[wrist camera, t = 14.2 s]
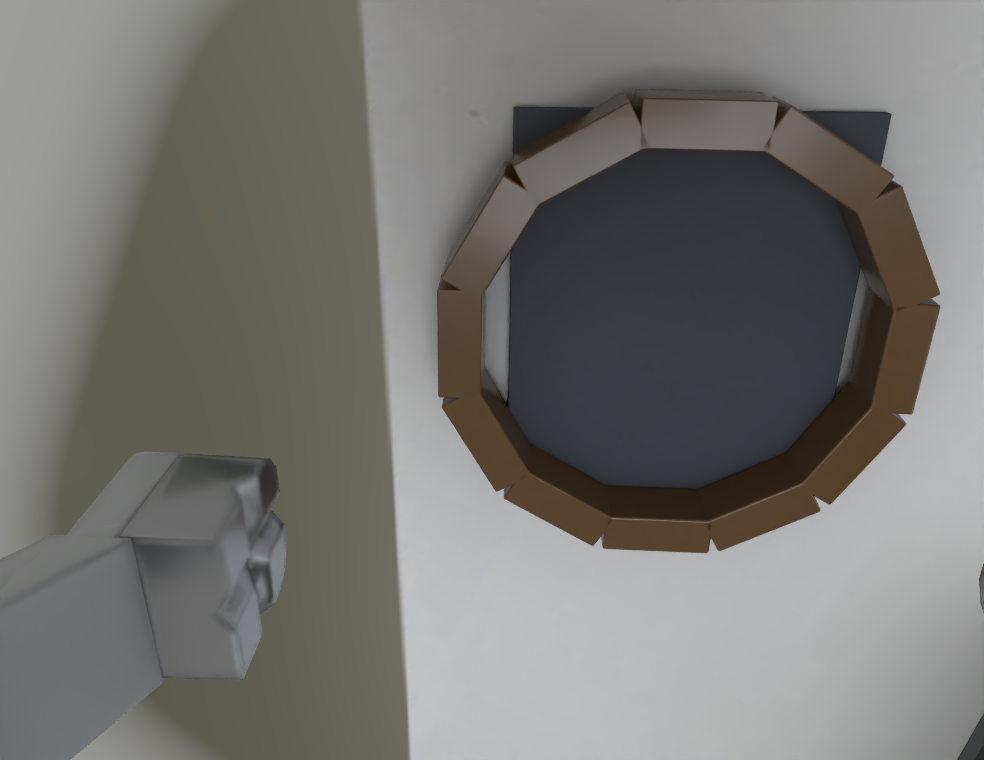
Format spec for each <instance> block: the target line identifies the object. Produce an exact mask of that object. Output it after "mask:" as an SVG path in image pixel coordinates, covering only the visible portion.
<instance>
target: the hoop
mask: <svg viewBox="0 0 984 760" xmlns="http://www.w3.org/2000/svg"><path fill="white" fill-rule="evenodd" d="M644 149H667V150H706V151H745V152H765V153H766V154H768V155H769V156H771V157H772V158H774V159H775V160H777V161H778V162H780V163H781V164H783V165H784V166H786V167H787V168H789V169H790V170H792V171H793V172H795V173H796V174H798V175H799V176H801V177H802V178H804V179H805V180H807V181H808V182H810V183H811V184H813V185H814V186H816V187H817V188H819V189H820V190H822V191H823V192H825V193H826V194H828V195H829V196H831V197H832V198H834V199H835V200H836V203H837V205H838V208H839V210H840V213H841V215H842V218H843V221H844V223H845V226H846V228H847V231H848V233H849V236H850V238H851V241H852V244H853V246H854V249H855V251H856V254H857V256H858V259H859V262H860V264H861V267H862V269H863V272H864V274H865V277H866V280H867V282H868V285H869V287H870V290H869V295H868V299H867V304H866V308H865V313H864V317H863V322H862V327H861V331H860V336H859V340H858V345H857V349H856V354H855V358H854V363H853V367H852V372H851V377H850V381H849V382H848V383H847V384H846V386H845V387H844V388H843V389H842V390H841V391H840V392H839V394H838V395H837V396H836V397H835V398H834V399H833V400H832V401H831V403H830V404H829V405H828V406H827V407H826V408H825V409H824V410H823V412H822V413H821V414H820V415H819V416H818V417H817V418H816V419H815V421H814V422H813V423H812V424H811V425H810V426H809V427H808V428H807V430H806V431H805V432H804V433H803V434H802V435H801V436H800V437H799V439H798V440H797V441H796V442H795V443H794V444H793V445H792V446H791V448H790V449H789V450H788V451H787V452H786V453H784V454H782V455H779V456H777V457H775V458H772V459H770V460H767V461H765V462H763V463H760V464H758V465H755V466H753V467H751V468H748V469H746V470H743V471H741V472H739V473H736V474H734V475H731V476H729V477H727V478H724V479H722V480H719V481H717V482H715V483H712V484H710V485H707V486H705V487H703V488H700V489H675V488H650V487H625V486H606V485H604V484H603V483H601V482H599V481H597V480H595V479H594V478H592V477H590V476H588V475H586V474H585V473H583V472H581V471H579V470H577V469H576V468H574V467H572V466H570V465H568V464H566V463H565V462H563V461H561V460H559V459H557V458H556V457H554V456H552V455H550V454H548V453H547V452H545V451H543V450H541V449H539V448H538V447H536V446H534V445H532V444H530V443H529V441H528V440H527V438H526V436H525V435H524V433H523V431H522V430H521V428H520V426H519V425H518V423H517V422H516V420H515V418H514V417H513V415H512V413H511V412H510V410H509V408H508V407H507V405H506V403H505V402H504V400H503V398H502V397H501V395H500V393H499V392H498V390H497V388H496V387H495V385H494V384H493V382H492V380H491V379H490V377H489V375H488V374H487V372H486V370H485V369H484V349H485V291H486V289H487V288H488V286H489V284H490V283H491V281H492V280H493V278H494V276H495V275H496V273H497V272H498V270H499V269H500V267H501V265H502V264H503V262H504V261H505V259H506V258H507V256H508V254H509V253H510V251H511V250H512V248H513V247H514V245H515V243H516V242H517V240H518V239H519V237H520V235H521V234H522V232H523V231H524V229H525V228H526V226H527V224H528V223H529V221H530V220H531V218H532V217H533V215H534V213H535V212H536V210H537V209H538V207H539V206H540V204H542V203H544V202H546V201H548V200H550V199H552V198H553V197H555V196H557V195H559V194H561V193H563V192H565V191H567V190H568V189H570V188H572V187H574V186H576V185H578V184H580V183H582V182H584V181H585V180H587V179H589V178H591V177H593V176H595V175H597V174H599V173H600V172H602V171H604V170H606V169H608V168H610V167H612V166H614V165H615V164H617V163H619V162H621V161H623V160H625V159H627V158H629V157H631V156H632V155H634V154H636V153H638V152H640V151H642V150H644ZM893 177H894V175H893V174H892V173H890V172H889V171H887V170H886V169H884V168H883V167H881V166H880V165H878V164H877V163H875V162H874V161H873V160H871V159H870V158H868V157H867V156H865V155H864V154H862V153H861V152H859V151H858V150H856V149H855V148H854V147H852V146H851V145H849V144H848V143H846V142H845V141H843V140H842V139H840V138H839V137H838V136H836V135H835V134H833V133H832V132H830V131H829V130H827V129H826V128H824V127H823V126H821V125H820V124H819V123H817V122H816V121H814V120H813V119H811V118H810V117H808V116H807V115H805V114H804V113H803V112H801V111H800V110H798V109H797V108H795V107H794V106H792V105H790V104H788V103H786V102H784V101H782V100H780V99H778V98H776V97H769V96H767V95H765V94H763V93H761V92H733V91H690V90H647V89H636V90H635V96H634V108H633V106H632V104H631V102H630V100H629V99H628V98H627V97H626V95H625V94H624V93H621V94H619V95H617V96H616V97H614V98H612V99H610V100H608V101H607V102H605V103H603V104H601V105H599V106H598V107H596V108H594V109H592V110H590V111H589V112H587V113H585V114H583V115H581V116H580V117H578V118H576V119H574V120H572V121H571V122H569V123H567V124H565V125H563V126H561V127H560V128H558V129H556V130H554V131H552V132H551V133H549V134H547V135H545V136H543V137H542V138H540V139H538V140H536V141H534V142H533V143H531V144H529V145H527V146H525V147H524V148H522V149H520V150H518V151H516V152H515V153H514V159H513V165H511V164H510V163H508V162H505V163H504V164H503V166H502V167H501V169H500V171H499V172H498V174H497V176H496V177H495V179H494V181H493V182H492V184H491V186H490V187H489V189H488V191H487V192H486V194H485V196H484V197H483V199H482V201H481V202H480V204H479V206H478V207H477V209H476V211H475V212H474V214H473V216H472V217H471V219H470V221H469V222H468V224H467V226H466V227H465V229H464V231H463V232H462V234H461V236H460V237H459V239H458V241H457V242H456V244H455V246H454V247H453V249H452V251H451V252H450V254H449V256H448V257H447V260H446V263H445V266H444V269H443V272H442V275H441V280H440V283H439V287H438V290H437V315H438V396H439V397H444V399H443V404H442V408H443V410H444V411H445V413H446V415H447V416H448V418H449V419H450V421H451V422H452V424H453V425H454V427H455V429H456V430H457V432H458V433H459V435H460V436H461V438H462V439H463V441H464V443H465V444H466V446H467V447H468V449H469V450H470V452H471V454H472V455H473V457H474V458H475V460H476V461H477V463H478V464H479V466H480V468H481V469H482V471H483V472H484V474H485V475H486V477H487V478H488V480H489V482H490V483H491V485H492V486H493V488H494V489H495V491H496V492H497V491H499V490H501V489H504V499H506V500H508V501H509V502H511V503H513V504H515V505H517V506H519V507H521V508H523V509H524V510H526V511H528V512H530V513H532V514H534V515H536V516H537V517H539V518H541V519H543V520H545V521H547V522H549V523H551V524H552V525H554V526H556V527H558V528H560V529H562V530H564V531H565V532H567V533H569V534H571V535H573V536H575V537H577V538H579V539H580V540H582V541H584V542H586V543H588V544H590V545H592V546H593V545H594V544H595V543H596V542H597V541H598V539H599V538H600V537H601V538H602V546H603V548H604V549H622V550H646V551H669V552H692V553H708V551H709V545H710V539H711V538H712V540H713V542H714V544H715V546H716V548H717V549H718V550H719V551H721V550H724V549H726V548H729V547H731V546H734V545H736V544H739V543H741V542H744V541H747V540H749V539H752V538H754V537H757V536H759V535H762V534H764V533H767V532H769V531H772V530H774V529H777V528H779V527H782V526H784V525H787V524H790V523H792V522H795V521H797V520H800V519H802V518H805V517H807V516H810V515H812V514H815V513H817V512H819V511H820V508H819V505H818V503H817V501H816V499H815V497H817V498H819V499H820V500H822V501H824V502H826V503H827V504H831V503H832V502H833V501H834V500H835V499H836V498H837V497H838V496H839V495H840V494H841V493H842V492H843V491H844V490H845V489H846V488H847V487H848V485H849V484H850V483H851V482H852V481H853V480H854V479H855V478H856V477H857V476H858V475H859V474H860V473H861V472H862V471H863V470H864V469H865V468H866V466H867V465H868V464H869V463H870V462H871V461H872V460H873V459H874V458H875V457H876V456H877V455H878V454H879V453H880V452H881V451H882V450H883V449H884V447H885V446H886V445H887V444H888V443H889V442H890V441H891V440H892V439H893V438H894V437H895V436H896V435H897V434H898V433H899V432H900V431H901V430H902V428H903V427H904V426H905V425H906V423H905V421H904V420H903V419H902V418H901V417H900V415H899V414H912V413H913V410H914V406H915V402H916V398H917V395H918V391H919V387H920V383H921V379H922V375H923V371H924V368H925V364H926V360H927V356H928V352H929V348H930V345H931V341H932V337H933V333H934V329H935V325H936V321H937V318H938V314H939V310H940V305H939V304H937V303H936V302H935V301H934V300H932V299H931V298H933V297H936V296H938V295H939V294H940V292H939V289H938V286H937V283H936V280H935V277H934V275H933V272H932V269H931V266H930V263H929V261H928V258H927V255H926V252H925V249H924V247H923V244H922V241H921V238H920V235H919V232H918V230H917V227H916V224H915V221H914V218H913V216H912V213H911V210H910V207H909V204H908V201H907V199H906V196H905V193H904V190H903V187H902V186H901V185H899V184H897V183H895V182H894V181H892V179H893ZM814 496H815V497H814Z"/></svg>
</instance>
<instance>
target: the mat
mask: <svg viewBox="0 0 984 760" xmlns="http://www.w3.org/2000/svg"><path fill="white" fill-rule="evenodd" d="M592 109H594V108H571V107H514V119H513V159H514V153H515V152H516V151H518V150H520V149H522V148H524V147H525V146H527V145H529V144H531V143H533V142H534V141H536V140H538V139H540V138H542V137H543V136H545V135H547V134H549V133H551V132H552V131H554V130H556V129H558V128H560V127H561V126H563V125H565V124H567V123H569V122H571V121H572V120H574V119H576V118H578V117H580V116H581V115H583V114H585V113H587V112H589V111H590V110H592ZM801 112H803V113H804V114H805V115H807V116H808V117H810V118H811V119H813V120H814V121H816V122H817V123H819V124H820V125H821V126H823V127H824V128H826V129H827V130H829V131H830V132H832V133H833V134H835V135H836V136H838V137H839V138H840V139H842V140H843V141H845V142H846V143H848V144H849V145H851V146H852V147H854V148H855V149H856V150H858V151H859V152H861V153H862V154H864V155H865V156H867V157H868V158H870V159H871V160H873V161H874V162H875V163H877V164H878V165H880V166H881V164H882V159H883V154H884V149H885V144H886V139H887V134H888V129H889V124H890V119H891V114H890V113H888V112H840V111H801ZM860 267H861V264H860V262H859V259H858V256H857V254H856V251H855V249H854V246H853V244H852V241H851V238H850V236H849V233H848V231H847V228H846V226H845V223H844V221H843V218H842V215H841V213H840V210H839V208H838V205H837V203H836V200H835V199H834V198H832V197H831V196H829V195H828V194H826V193H825V192H823V191H822V190H820V189H819V188H817V187H816V186H814V185H813V184H811V183H810V182H808V181H807V180H805V179H804V178H802V177H801V176H799V175H798V174H796V173H795V172H793V171H792V170H790V169H789V168H787V167H786V166H784V165H783V164H781V163H780V162H778V161H777V160H775V159H774V158H772V157H771V156H769V155H768V154H766V153H765V152H745V151H706V150H667V149H644V150H642V151H640V152H638V153H636V154H634V155H632V156H631V157H629V158H627V159H625V160H623V161H621V162H619V163H617V164H615V165H614V166H612V167H610V168H608V169H606V170H604V171H602V172H600V173H599V174H597V175H595V176H593V177H591V178H589V179H587V180H585V181H584V182H582V183H580V184H578V185H576V186H574V187H572V188H570V189H568V190H567V191H565V192H563V193H561V194H559V195H557V196H555V197H553V198H552V199H550V200H548V201H546V202H544V203H542V204H540V206H539V207H538V209H537V210H536V212H535V213H534V215H533V217H532V218H531V220H530V221H529V223H528V224H527V226H526V228H525V229H524V231H523V232H522V234H521V235H520V237H519V239H518V240H517V242H516V243H515V245H514V247H513V248H512V250H511V283H510V337H509V392H508V408H509V410H510V412H511V413H512V415H513V417H514V418H515V420H516V422H517V423H518V425H519V426H520V428H521V430H522V431H523V433H524V435H525V436H526V438H527V440H528V441H529V443H530V444H532V445H534V446H536V447H538V448H539V449H541V450H543V451H545V452H547V453H548V454H550V455H552V456H554V457H556V458H557V459H559V460H561V461H563V462H565V463H566V464H568V465H570V466H572V467H574V468H576V469H577V470H579V471H581V472H583V473H585V474H586V475H588V476H590V477H592V478H594V479H595V480H597V481H599V482H601V483H603V484H604V485H606V486H625V487H650V488H675V489H700V488H703V487H705V486H707V485H710V484H712V483H715V482H717V481H719V480H722V479H724V478H727V477H729V476H731V475H734V474H736V473H739V472H741V471H743V470H746V469H748V468H751V467H753V466H755V465H758V464H760V463H763V462H765V461H767V460H770V459H772V458H775V457H777V456H779V455H782V454H784V453H786V452H787V451H788V450H789V449H790V448H791V446H792V445H793V444H794V443H795V442H796V441H797V440H798V439H799V437H800V436H801V435H802V434H803V433H804V432H805V431H806V430H807V428H808V427H809V426H810V425H811V424H812V423H813V422H814V421H815V419H816V418H817V417H818V416H819V415H820V414H821V413H822V412H823V410H824V409H825V408H826V407H827V406H828V405H829V404H830V403H831V401H832V400H833V399H834V395H835V390H836V385H837V380H838V375H839V371H840V366H841V361H842V356H843V351H844V346H845V341H846V336H847V331H848V326H849V321H850V316H851V311H852V307H853V302H854V297H855V292H856V287H857V282H858V277H859V272H860Z"/></svg>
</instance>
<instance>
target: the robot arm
mask: <svg viewBox="0 0 984 760" xmlns="http://www.w3.org/2000/svg"><path fill="white" fill-rule="evenodd" d="M279 492H280V489H279V482H278V476H277V469H276V466H275V465H274V463H273V462H272V460H271V459H266V458H251V457H234V456H218V455H217V456H216V455H201V454H181V453H164V452H141V453H137V454H133V455H132V456H131V457H130V459H129V460H128V461H127V462H126V464H125V465H124V466H123V467H122V468H121V469H120V471H119V472H118V473H117V474H116V475H115V477H114V478H113V479H112V480H111V482H110V483H109V484H108V485H107V486H106V488H105V489H104V490H103V491H102V492H101V494H100V495H99V496H98V497H97V498H96V500H95V501H94V502H93V503H92V504H91V506H90V507H89V508H88V509H87V510H86V512H85V513H84V514H83V515H82V516H81V518H80V519H79V520H78V521H77V522H76V524H75V525H74V526H73V527H72V528H71V530H70V531H69V532H68V533H67V535H50V536H48V537H46V538H44V539H42V540H40V541H37V542H35V543H33V544H31V545H29V546H27V547H25V548H23V549H20V550H18V551H16V552H14V553H12V554H10V555H8V556H6V557H3V558H2V559H0V760H71V759H72V758H73V757H74V756H75V755H77V754H78V753H79V752H80V751H81V750H83V749H84V748H85V747H86V746H87V745H89V744H90V743H91V742H92V741H93V740H95V739H96V738H97V737H98V736H99V735H100V734H102V733H103V732H104V731H105V730H107V729H108V728H109V727H110V726H111V725H112V724H114V723H115V722H116V721H117V720H119V719H120V718H121V717H122V716H123V715H124V714H126V713H127V712H128V711H129V710H130V709H131V708H133V707H134V706H135V705H136V704H137V703H139V702H140V701H141V700H142V699H144V698H145V697H146V696H147V695H148V694H150V693H151V692H152V691H153V690H154V689H155V688H157V687H158V686H159V685H160V684H161V683H163V679H162V678H187V679H230V680H243V678H244V676H245V673H246V671H247V668H248V666H249V664H250V661H251V659H252V657H253V654H254V652H255V649H256V647H257V645H258V642H259V640H260V638H261V635H262V630H261V623H260V616H259V615H260V614H262V613H263V612H264V611H266V610H267V609H269V608H270V607H272V606H273V605H274V604H275V601H276V599H277V596H278V593H279V591H280V588H281V585H282V579H283V574H284V568H285V562H286V538H285V529H284V523H283V522H282V521H281V520H280V519H279V518H278V517H277V516H276V515H275V513H273V511H272V510H271V509H272V507H273V505H274V503H275V501H276V499H277V497H278V495H279ZM979 584H980V603H981V606H982V609H983V612H984V564H983V568H982V571H981V574H980V578H979Z"/></svg>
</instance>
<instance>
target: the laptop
mask: <svg viewBox="0 0 984 760" xmlns="http://www.w3.org/2000/svg"><path fill="white" fill-rule="evenodd" d="M958 760H984V715H983V717H982V719H981V720H980V722H979V724H978V726H977V727H976V729H975V731H974V733H973V734H972V736H971V738H970V740H969V741H968V743H967V745H966V747H965V748H964V750H963V752H962V754H961V755H960V757H959V759H958Z"/></svg>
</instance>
